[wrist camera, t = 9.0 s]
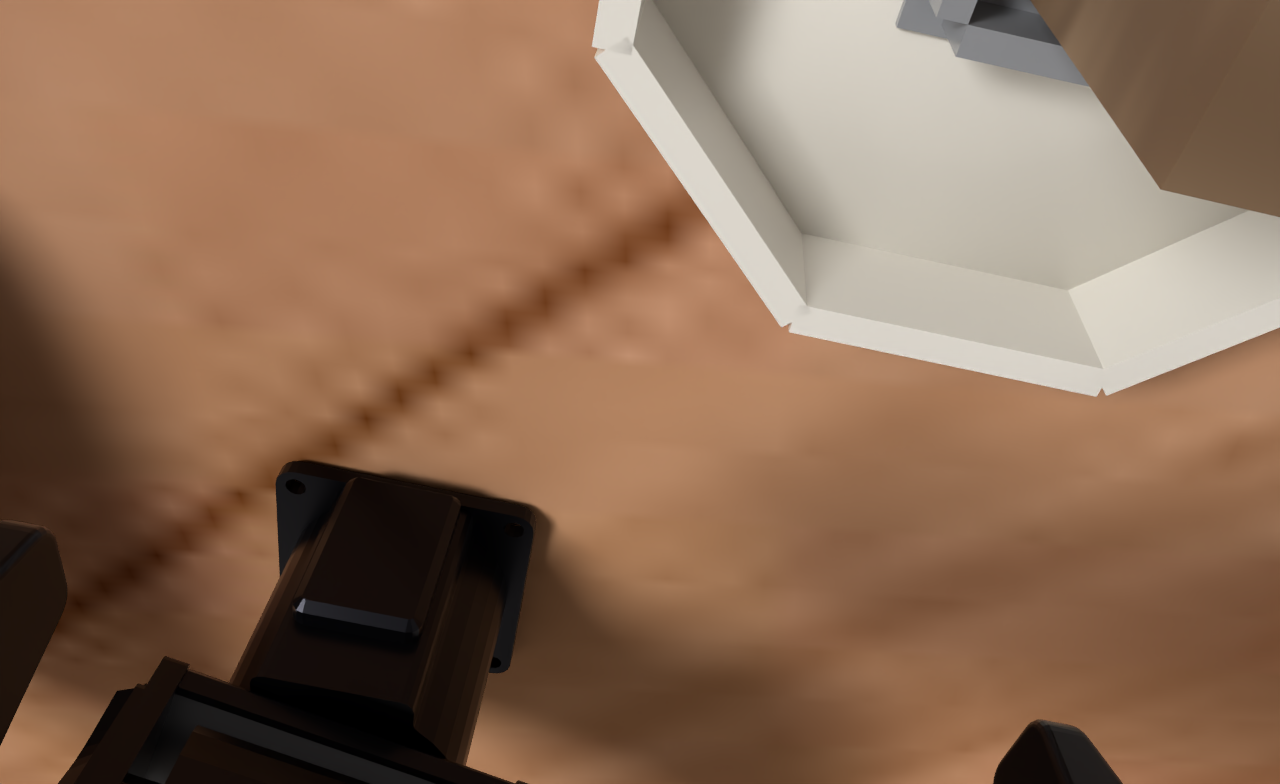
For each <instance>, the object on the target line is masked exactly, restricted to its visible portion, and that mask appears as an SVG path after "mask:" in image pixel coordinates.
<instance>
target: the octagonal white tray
mask: <svg viewBox="0 0 1280 784" xmlns="http://www.w3.org/2000/svg"><path fill="white" fill-rule="evenodd" d="M592 47H596V48H598V49H597V52H596V54H595V57H594V58H595V59H596V61H597V62H598V63H599V65H600V66H601V68H602V69H603V71H604V72H605V74H606V75H607V76H608V78H609V79H610V81H611V82H612V84H613V85H614V87H615V88H616V89H617V91H618V92H619V94H620V95H621V97H622V98H623V100H624V101H625V102H626V104H627V105H628V107H629V108H630V110H631V111H632V113H633V114H634V115H635V117H636V118H637V120H638V121H639V123H640V124H641V126H642V127H643V128H644V130H645V131H646V133H647V134H648V136H649V137H650V139H651V140H652V141H653V143H654V144H655V146H656V147H657V149H658V150H659V152H660V153H661V154H662V156H663V157H664V159H665V160H666V162H667V163H668V164H669V166H670V167H671V169H672V170H673V172H674V173H675V175H676V176H677V177H678V179H679V180H680V182H681V183H682V185H683V186H684V188H685V189H686V190H687V192H688V193H689V195H690V196H691V198H692V199H693V201H694V202H695V203H696V205H697V206H698V208H699V209H700V211H701V212H702V214H703V215H704V216H705V218H706V219H707V221H708V222H709V224H710V225H711V227H712V228H713V229H714V231H715V232H716V234H717V235H718V237H719V238H720V240H721V241H722V242H723V244H724V245H725V247H726V248H727V250H728V251H729V253H730V254H731V255H732V257H733V258H734V260H735V261H736V263H737V264H738V266H739V267H740V268H741V270H742V271H743V273H744V274H745V276H746V277H747V279H748V280H749V281H750V283H751V284H752V286H753V287H754V289H755V290H756V292H757V293H758V294H759V296H760V297H761V299H762V300H763V302H764V303H765V304H766V306H767V307H768V309H769V310H770V312H771V313H772V315H773V316H774V317H775V319H776V320H777V322H778V323H779V325H780V326H781V327H783V326H785V325H787V324H788V325H789V332H791V333H795V334H800V335H805V336H810V337H814V338H819V339H824V340H829V341H834V342H838V343H843V344H848V345H853V346H857V347H862V348H867V349H872V350H876V351H881V352H886V353H891V354H895V355H900V356H905V357H910V358H914V359H919V360H924V361H929V362H933V363H938V364H943V365H948V366H952V367H957V368H962V369H967V370H971V371H976V372H981V373H986V374H990V375H995V376H1000V377H1005V378H1010V379H1014V380H1019V381H1024V382H1029V383H1033V384H1038V385H1043V386H1048V387H1052V388H1057V389H1062V390H1067V391H1071V392H1076V393H1081V394H1086V395H1090V396H1095V397H1097V395H1098V393H1099V392H1100V390H1101V388H1103V390H1104V392H1105V394H1106V396H1107V395H1110V394H1112V393H1115V392H1117V391H1120V390H1122V389H1125V388H1127V387H1130V386H1132V385H1135V384H1138V383H1140V382H1143V381H1145V380H1148V379H1150V378H1153V377H1155V376H1158V375H1160V374H1163V373H1165V372H1168V371H1171V370H1173V369H1176V368H1178V367H1181V366H1183V365H1186V364H1188V363H1191V362H1193V361H1196V360H1198V359H1201V358H1204V357H1206V356H1209V355H1211V354H1214V353H1216V352H1219V351H1221V350H1224V349H1226V348H1229V347H1231V346H1234V345H1237V344H1239V343H1242V342H1244V341H1247V340H1249V339H1252V338H1254V337H1257V336H1259V335H1262V334H1264V333H1267V332H1270V331H1272V330H1275V329H1277V328H1280V217H1276V216H1272V215H1268V214H1264V213H1259V212H1255V211H1251V210H1246V209H1242V208H1238V207H1233V206H1229V205H1225V204H1220V203H1216V202H1212V201H1208V200H1203V199H1199V198H1195V197H1190V196H1186V195H1182V194H1177V193H1173V192H1169V191H1165V190H1160V188H1159V187H1158V185H1157V184H1156V182H1155V181H1154V179H1153V178H1152V176H1151V175H1150V174H1149V172H1148V171H1147V169H1146V168H1145V166H1144V165H1143V163H1142V162H1141V161H1140V159H1139V158H1138V156H1137V155H1136V153H1135V152H1134V150H1133V149H1132V147H1131V146H1130V145H1129V143H1128V142H1127V140H1126V139H1125V137H1124V136H1123V134H1122V133H1121V131H1120V130H1119V129H1118V127H1117V126H1116V124H1115V123H1114V121H1113V120H1112V118H1111V117H1110V115H1109V114H1108V113H1107V111H1106V110H1105V108H1104V107H1103V105H1102V104H1101V102H1100V101H1099V99H1098V98H1097V97H1096V95H1095V94H1094V92H1093V91H1092V89H1091V88H1090V86H1089V85H1088V84H1087V82H1086V81H1085V79H1084V78H1083V76H1082V75H1081V73H1080V72H1079V70H1078V69H1077V68H1076V66H1075V65H1074V63H1073V62H1072V60H1071V59H1070V57H1069V56H1068V54H1067V53H1066V52H1065V50H1064V49H1063V47H1062V46H1061V44H1060V43H1059V41H1058V40H1057V38H1056V37H1055V36H1054V34H1053V33H1052V31H1051V30H1050V28H1049V27H1048V25H1047V24H1046V22H1045V21H1044V20H1043V18H1042V17H1041V15H1040V14H1039V12H1038V11H1037V9H1036V8H1035V7H1034V5H1033V4H1032V2H1031V1H1030V0H599V6H598V12H597V18H596V24H595V30H594V36H593V43H592Z"/></svg>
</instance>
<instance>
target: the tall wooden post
mask: <svg viewBox="0 0 1280 784" xmlns="http://www.w3.org/2000/svg"><path fill="white" fill-rule="evenodd" d="M1030 1H1031V2H1032V4H1033V5H1034V7H1035V8H1036V9H1037V11H1038V12H1039V14H1040V15H1041V17H1042V18H1043V20H1044V21H1045V22H1046V24H1047V25H1048V27H1049V28H1050V30H1051V31H1052V33H1053V34H1054V36H1055V37H1056V38H1057V40H1058V41H1059V43H1060V44H1061V46H1062V47H1063V49H1064V50H1065V52H1066V53H1067V54H1068V56H1069V57H1070V59H1071V60H1072V62H1073V63H1074V65H1075V66H1076V68H1077V69H1078V70H1079V72H1080V73H1081V75H1082V76H1083V78H1084V79H1085V81H1086V82H1087V84H1088V85H1089V86H1090V88H1091V89H1092V91H1093V92H1094V94H1095V95H1096V97H1097V98H1098V99H1099V101H1100V102H1101V104H1102V105H1103V107H1104V108H1105V110H1106V111H1107V113H1108V114H1109V115H1110V117H1111V118H1112V120H1113V121H1114V123H1115V124H1116V126H1117V127H1118V129H1119V130H1120V131H1121V133H1122V134H1123V136H1124V137H1125V139H1126V140H1127V142H1128V143H1129V145H1130V146H1131V147H1132V149H1133V150H1134V152H1135V153H1136V155H1137V156H1138V158H1139V159H1140V161H1141V162H1142V163H1143V165H1144V166H1145V168H1146V169H1147V171H1148V172H1149V174H1150V175H1151V176H1152V178H1153V179H1154V181H1155V182H1156V184H1157V185H1158V187H1159V188H1160V190H1165V191H1169V192H1173V193H1177V194H1182V195H1186V196H1190V197H1195V198H1199V199H1203V200H1208V201H1212V202H1216V203H1220V204H1225V205H1229V206H1233V207H1238V208H1242V209H1246V210H1251V211H1255V212H1259V213H1264V214H1268V215H1272V216H1276V217H1280V0H1030Z"/></svg>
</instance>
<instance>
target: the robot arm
mask: <svg viewBox="0 0 1280 784" xmlns="http://www.w3.org/2000/svg"><path fill="white" fill-rule="evenodd" d="M294 479H296V480H298V481H301V482H302V483H299V482H297V481H295V480H294ZM276 501H277V523H278V545H279V567H280V578H279V580H278V582H277V585H276V587H275V589H274V591H273V593H272V595H271V597H270V599H269V601H268V603H267V605H266V607H265V609H264V611H263V613H262V616H261V618H260V620H259V622H258V624H257V626H256V628H255V630H254V632H253V634H252V636H251V638H250V640H249V642H248V644H247V647H246V649H245V651H244V653H243V655H242V657H241V659H240V661H239V663H238V665H237V667H236V669H235V671H234V673H233V676H232V678H231V680H230V682H229V683H228V682H225V681H222V680H219V679H216V678H213V677H211V676H208V675H205V674H202V673H199V672H196V671H193V670H191V669H189V666H190V664H187V663H184V662H181V661H179V660H176V659H173V658H170V657H167V656H165V657H164V658H163V660H162V661H161V663H160V665H159V666H158V668H157V669H156V671H155V673H154V674H153V676H152V677H151V679H150V681H149V682H148V684H145V685H141V684H137V686H136V687H135V688H133V689H127V690H120V691H117V692H116V694H115V695H114V697H113V699H112V700H111V702H110V704H109V706H108V707H107V709H106V711H105V712H104V714H103V716H102V718H101V719H100V721H99V723H98V724H97V726H96V728H95V730H94V731H93V733H92V735H91V736H90V738H89V740H88V741H87V743H86V745H85V746H84V748H83V749H82V751H81V753H80V754H79V756H78V757H77V759H76V760H75V762H74V763H73V764H72V766H71V767H70V769H69V770H68V771H67V772H66V774H65V775H64V776H63V778H62V779H61V780H60V781H59V783H58V784H528V783H525V782H522V781H519V780H518V781H517V782H516V783H512V782H509V781H507V780H504V779H501V778H498V777H495V776H492V775H489V774H487V773H484V772H481V771H478V770H475V769H472V768H470V767H467V766H466V762H467V758H468V754H469V750H470V746H471V742H472V738H473V734H474V730H475V726H476V722H477V718H478V714H479V710H480V706H481V702H482V698H483V693H484V689H485V685H486V681H487V677H488V673H501V672H504V671H506V670H508V668H509V666H510V663H511V658H512V654H513V648H514V643H515V637H516V632H517V626H518V621H519V615H520V610H521V604H522V599H523V593H524V588H525V582H526V577H527V571H528V566H529V560H530V555H531V549H532V544H533V538H534V533H535V527H536V517H535V515H534V514H533V512H532V511H530V510H529V509H528V508H526V507H523V506H520V505H516V504H511V503H506V502H501V501H496V500H491V499H486V498H481V497H476V496H471V495H466V494H461V493H456V492H451V491H446V490H441V489H436V488H431V487H426V486H421V485H416V484H411V483H406V482H401V481H396V480H391V479H386V478H381V477H376V476H371V475H366V474H361V473H356V472H351V471H346V470H340V469H335V468H330V467H325V466H320V465H315V464H310V463H305V462H299V461H292V462H289V463H287V464H285V465H284V466H283V468H282V469H281V471H280V473H279V475H278V477H277V480H276ZM511 523H516V524H519V525H521V526H515V525H512V524H511ZM66 599H67V582H66V578H65V574H64V570H63V566H62V562H61V558H60V554H59V550H58V546H57V541H56V538H55V535H54V533H53V532H52V531H51V530H50V529H49V528H47V527H44V526H40V525H35V524H30V523H24V522H19V521H14V520H2V521H0V745H1V743H2V741H3V739H4V737H5V734H6V732H7V730H8V728H9V726H10V724H11V722H12V720H13V717H14V715H15V713H16V711H17V709H18V707H19V705H20V703H21V700H22V698H23V696H24V694H25V692H26V690H27V688H28V685H29V683H30V681H31V679H32V677H33V675H34V673H35V671H36V668H37V666H38V664H39V662H40V660H41V658H42V656H43V653H44V651H45V649H46V647H47V645H48V643H49V641H50V639H51V636H52V634H53V632H54V630H55V628H56V626H57V624H58V621H59V619H60V617H61V615H62V613H63V610H64V607H65V604H66ZM993 784H1123V783H1122V782H1121V780H1120V779H1119V778H1118V776H1117V775H1116V774H1115V773H1114V771H1113V770H1112V769H1111V767H1110V766H1109V765H1108V763H1107V762H1106V761H1105V759H1104V758H1103V757H1102V755H1101V754H1100V753H1099V751H1098V750H1097V749H1096V747H1095V746H1094V745H1093V743H1092V742H1091V741H1090V739H1089V738H1088V737H1087V736H1086V735H1085V734H1084V733H1083V732H1082V731H1081V730H1080V729H1078V728H1077V727H1074V726H1071V725H1067V724H1062V723H1057V722H1052V721H1046V720H1035V721H1033V722H1031V723H1030V724H1029V725H1028V726H1027V727H1026V728H1025V730H1024V731H1023V732H1022V734H1021V735H1020V736H1019V738H1018V739H1017V740H1016V742H1015V743H1014V744H1013V746H1012V747H1011V748H1010V750H1009V751H1008V752H1007V754H1006V755H1005V756H1004V758H1003V759H1002V760H1001V762H1000V763H999V765H998V767H997V770H996V772H995V776H994V782H993Z"/></svg>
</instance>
